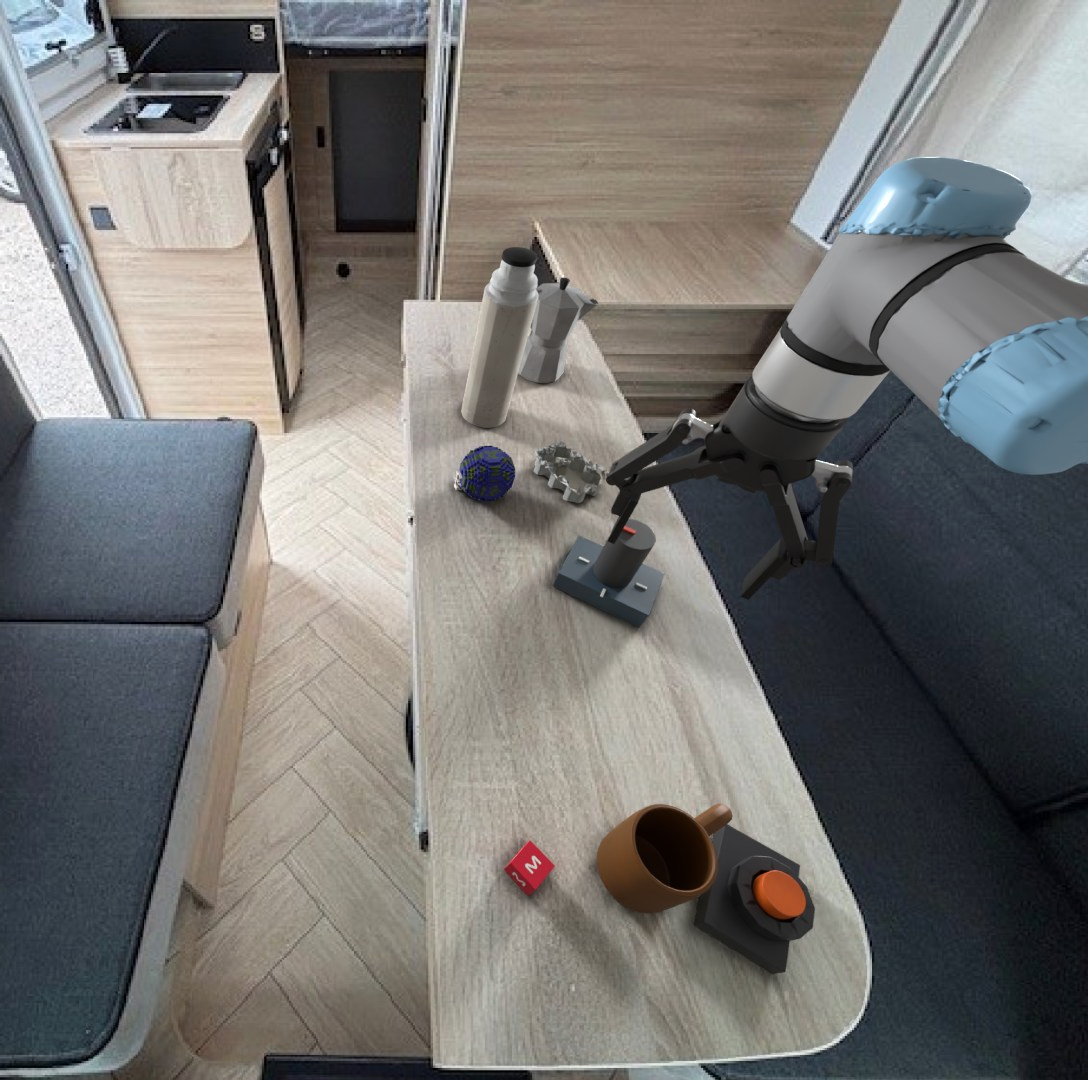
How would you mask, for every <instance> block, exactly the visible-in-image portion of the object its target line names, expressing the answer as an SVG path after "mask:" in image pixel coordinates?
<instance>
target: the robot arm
mask: <svg viewBox="0 0 1088 1080" xmlns="http://www.w3.org/2000/svg"><path fill="white" fill-rule="evenodd" d="M1032 198H1033V196H1032V193H1031V190H1030V188H1029V187H1027V186H1025V184H1024V181H1022V180H1021V178H1019V177H1016V176H1014V175H1013V174H1011V173H1008V172H1006V171H1004V170H1002V169H998V168H995V167H992V166H990V165H986V164H982V163H978V162H974V161H969V160H965V159H960V158H953V157H943V156H916V157H911V158H907V159H903V160H901V161H898V162H896V163H894V164H893V165H891V166H890V167H888V168H886V169H885V170H884V171H883V172H882V173H881V175H879V176H878V177H877V179H876V181H875V182H874V183H873V185H872V186H871V187H870V189H869V190H868V192H867V193H866V194H865V196H864V197H863V198H862V199H861V201H860V203H858V205H857V206H856V208H855V209H854V211H853V212H852V213H851V215H850V216H849V218H848V219H847V220H846V222H845V223H844V224H842V225H841V226H840V227H839V229H838V234H837V236H836V238H835V240H834V242H833V243H832V245H831V246H830V248H829V250H827V253H826V255H825V256H824V258H823V259H822V261H821V263H820V264H819V265H818V267H817V269H816V271H815V272H814V274H813V275H812V277H811V279H809V282H808V283H807V285H806V287H805V288H804V290H803V291H802V292H801V295H800V296H799V298H798V299H797V301H796V302H795V304H794V306H793V307H792V310H791V311H790V312H789V314H788V315H787V317H786V319H785V320H784V321H783V323H782V325H781V327H780V329H779V330H778V331H777V332H776V335H775V336H774V338H773V339H772V341H771V343H770V344H769V345H768V347H767V349H766V350H765V351H764V353H763V354H762V356H761V358H760V359H759V361H758V363H757V364H756V365H755V367H754V369H753V371H752V376H750V377H749V378H747V380H746V381H745V382H744V384H743V385H742V387H741V388H740V390H739V392H738V393H737V395H736V397H735V399H734V400H733V401H732V403H731V404H730V406H729V408H728V409H727V411H726V413H725V414H724V416H723V417H722V418H721V419H720V420H719V421H717V422H715V423H713V424H710V423H708V422H706V421H704V420H702V419H699V418H697V412H696V411H695V410H694V409H693V408H684V409H683V410H682V411H681V412H680V413H679V415H678V416H677V417H676V419H674V421H673V422H672V424H671V425H670V426H668V427H666V428H665V429H663V430H662V431H660V432H659V433H657V434H656V435H654V436H652V437H651V438H649V439H648V440H646V441H645V442H643V443H642V444H640V445H638V446H637V447H636V448H634V449H632V450H631V451H629V452H628V453H626V454H624V455H623V456H622V457H620V458H618V459H617V460H616V461H614V462H613V463H612V464H611V466H610V469H609V470H608V472H609V473H608V475H607V477H606V480H605V483H606V484H608V485H609V486H616V487H617V488H618V490H619V491H618V493H617V495H616V497H615V499H614V502H613V504H612V506H611V509H610V513H611V514H612V515H615V516H617V518H616V521H615V522H614V525H613V527H612V529H611V531H610V534H609V536H608V538H609V539H608V538H607V539H608V542H610V543H612V544H615V542H616V540H617V539H618V537H619V535H620V533H621V532H622V530H623V528H624V526H625V525H626V523H627V521H628V519H631V516H632V514H633V513H634V511H635V510H636V508H637V505H638V504H639V501H640V500H641V497H642V494H644V493H648V492H652V491H655V490H659V489H662V488H666V487H668V486H671V485H675V484H679V483H682V482H685V481H689V480H692V479H695V480H697V481H698V480H702V479H705V478H709V477H712V476H715V477H717V481H718V482H721V483H724V484H728V485H733V486H737V487H739V488H741V489H742V490H744V491H746V492H749V493H752V494H755V493H756V492H761V493H762V492H765V495H766V498H767V500H768V504H769V506H770V507H771V508H772V510H773V513H774V517H775V519H776V522H777V525H778V528H779V531H780V534H781V537H780V538H779V539H778V540H777V542H775V544H774V545H773V546H772V547H771V548H770V549H769V550H768V551H767V553H766V554H765V555H764V556H763V557H762V558H761V559H760V560H759V562H757V563H756V565H755V566H754V567H753V568H752V569H751V570H750V571H749V573H748V574H747V575H746V576H744V578H743V583H742V588H741V593H740V598H742V599H745V600H748V601H749V600H750V599H751V598H752V597H753V596H754V595H755V594H756V593H757V592H758V591H759V590H760V589H761V588H762V587H763V586H764V585H765V584H766V583H767V581H769V579H770V578H773V579H775V580H778V581H780V580H782V579H784V578H785V577H786V576H788V575H789V573H790V572H792V571H793V569H802V568H803V567H805V565H806V561H810V562H815V564H816V565H818V566H820V567H828V566H831V565H832V564H833V560H834V559H833V558H834V551H835V544H836V534H837V526H838V519H839V509H840V501H841V500H842V499H843V497H844V496H845V495H846V493H847V492H848V490H849V489H850V488H851V486H852V484H853V472H854V471H853V469H854V465H853V463H852V462H851V461H849V460H847V459H844V460H843V459H842V460H838V461H836V462H835V463H834V464H833V463H829V462H827V461H826V462H825V461H822V460H817V459H818V457H820V456H821V454H822V453H823V452H824V451H825V450H826V448H827V447H828V446H829V445H830V444H831V442H832V441H833V440H834V439H835V438H836V436H837V435H838V434H839V433H840V432H841V431H842V430H843V428H844V427H845V426H846V425H847V423H848V422H849V418H850V417H852V416H853V415H854V414H856V413H857V412H858V411H859V410H860V408H861V407H862V406H863V405H864V404H865V403H866V402H867V400H868V399H869V397H870V396H871V395H872V394H873V393H874V391H876V389H877V388H878V387H879V385H880V384H881V383H882V381H884V380H885V378H886V377H887V376H888V374H889V373H890V372H891V373H893V374H894V375H895V377H897V378H898V379H899V380H900V381H901V382H902V383H903V384H904V385H905V386H906V387H907V388H908V389H909V390H910V391H911V392H912V393H913V394H914V395H915V396H916V397H917V398H918V399H919V400H920V401H921V402H922V403H923V404H924V405H925V406H926V407H927V408H928V409H929V410H930V411H932V413H934V415H935V416H937V418H938V419H940V421H942V422H943V425H944V427H945V428H946V429H947V430H949V431H950V433H952V435H954V436H955V437H958V438H959V437H960V439H961V440H962V441H964V442H965V443H966V444H969V445H971V446H972V447H973V448H975V449H976V450H977V451H979V452H980V453H982V454H983V455H984V456H985V457H987V458H988V459H989V460H990V461H991V462H992V463H994V464H995V465H996V466H998V467H1000V468H1001V469H1004V470H1006V471H1009V472H1012V473H1016V474H1021V475H1031V476H1035V475H1049V474H1058V473H1061V472H1064V471H1066V470H1069V469H1071V468H1072V467H1075V466H1076V465H1079V464H1082V465H1088V284H1087V283H1081V282H1077V281H1073V280H1070V279H1068V278H1066V277H1064V276H1062V275H1061V274H1058V273H1057V272H1055V271H1052V270H1051V269H1049V268H1047V267H1045V266H1044V265H1041V264H1040V263H1038V262H1036V261H1034V260H1032V259H1031V258H1029V257H1028V256H1026V255H1025V253H1023V252H1021V251H1020V250H1018V248H1016V247H1014V245H1012V244H1010V243H1009V242H1007V241H1006V237H1007V236H1010V235H1011V234H1012V233H1013V232H1014V231H1016V230H1017V227H1016V225H1017V223H1018V222H1019V221H1020V219H1021V218H1022V216H1023V215H1024V214H1025V212H1026V211H1027V210H1028V209H1029V207H1030V206H1031V202H1032ZM698 439H701V440H704V442H703V443H704V445H703V446H700V447H698V448H696V449H695V450H694V451H693V452H690V453H688V454H687V453H686V454H684V455H681V456H678V457H675V458H672V459H669V460H665V461H663V462H660V463H656V464H654V465H651V464H653V463H655V462H656V461H658V460H660V459H661V458H664V457H665V456H667V455H668V454H670V453H672V452H673V451H674V450H676V449H677V448H678V447H680V445H681V444H683V445H687V444H688V445H689V443H691V442H693V441H694V440H698ZM650 465H651V466H650ZM810 477H812V478H814V480H815V484H814V485H815V488H817V489H818V490H819V492H820V493H821V498H820V499H821V500H820V509H819V519H818V529H817V539H816V540H812V539H809V538H808V535H807V532H806V529H805V525H804V523H803V519H802V517H801V513H800V510H799V506H798V503H797V500H796V497H795V494H794V490H793V487H792V484H794V483H796V482H800V481H803V480H806V479H808V478H810Z"/></svg>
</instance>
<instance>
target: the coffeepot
mask: <svg viewBox="0 0 1088 1080" xmlns="http://www.w3.org/2000/svg"><path fill="white" fill-rule="evenodd" d="M570 282H571V279H570V278H569V277H565V276H564V277H560V279H559V282H551V283H550V282H549V283H548V282H546V283H541V284H540V285H539V286H537V288H536V291H537V292H538V301H537V304H536V308H535V312H534V316H533V319H532V323H531V327H530V332H529V334H528V338H527V342H526V346H525V349H524V353H523V356H522V360H521V363H520V367H519V371H518V375H519V376H521V377H522V378H523V379H525V380H527V381H529V382H532V383H536V384H551V383H555V382H557V381H558V380H559V379H560V378H561V377H562V375H563V374H564V373H565V365H566V356H567V349H568V342H567V341H568V338H569V337H570V336H571V335H572V334H573V332H574V329H575V328H576V325H577V323H578V322H579V321H580V320H581V319H582V318H583V317H584V316H586V315H587V314H588V313H589V312H590V311H592V310H593V309H594V308H596V307H599V302H598V300H597V299H594V297H591V296H589V295H586V294H585V293H584V291H582V289H580V288H578V287H575V286H572V285H569V284H570Z"/></svg>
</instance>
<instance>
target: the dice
mask: <svg viewBox="0 0 1088 1080" xmlns="http://www.w3.org/2000/svg"><path fill="white" fill-rule="evenodd" d="M555 867H556V865H555V864H554V863H553V862H552V861H551V860H550V859H549V857H547V856H546V855H545V853H543V852H542V850H541V849H540V848H539V847H538V846H537V845H535V843H534V842H533V841H532V840H531V839H530V840H528V841H527V843H525V844H524V845H523V846H522V848H521V849H520V850H519V851H518V852H517V853H516V854H515V856H514V857H513V858H512V860H510V861H509V863H508V864H507V865H506V866H505V867H504V869H503V871H505V872H506V874H507V875H508V876H509V877H510V878H511V880H513V882H515V884H517V886H518V887H519V888H520V889H521V890H522V891H523V892H524V893H525V894H526V896H530V895H531V894H532V893H534V892H535V891H536V890H537V889H538V888H539V886H540V885H541V884H542V883H543V882H544V881H545V880H546V879H547V877H548V875H549V874H550V873H551V872H552V871H553V869H554V868H555Z"/></svg>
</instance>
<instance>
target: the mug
mask: <svg viewBox="0 0 1088 1080" xmlns="http://www.w3.org/2000/svg"><path fill="white" fill-rule="evenodd" d="M733 817H734V814H733V811H732V809H731V808H730V807H729V806H727V805H726V804H723V803H717V804H714V805H713V806H711V807H709V808H708V809H705V811H703V812H701V813H699V814H698V815H696V816H695V817H693V816H692V815H691V814H689V813H688V812H686V811H685V810H683V809H681V808H679V807H677V806H673V805H670V804H665V803H655V804H650V805H647V806H645V807H643V808H641V809H639V810H637V811H635V812H633V813H632V814H631V815H629V816H628V817H626V818H625V819H624V820H623V821H621V823H618V825H616V826H615V827H614V828H613V829H612V830H610V831H609V832H608V833H606V835H605V836H604V837H603V838H602V839H601V842H600V844H599V846H598V850H597V854H596V864H597V869H598V875H599V876H600V880H601V881H602V883H603V885H604V887H605V889H606V891H608V893H609V895H611V897H612V898H613V899H614V900H615V901H616V902H617V903H618V904H620V905H621V906H623V907H624V908H626V909H628V910H630V911H632V912H635V913H638V914H639V913H640V914H644V915H645V914H646V915H648V914H649V915H650V914H656V913H657V914H658V913H660V912H663V911H666V910H669V909H671V908H676V907H678V906H680V905H683V904H686V903H688V902H691V901H693V900H696V899H697V898H699V897H700V895H701V894H703V893H705V892H706V891H707V890H708V889H709V888H710V887H711V886H712V885H713V883H714V881H715V879H716V876H717V870H718V860H717V854H716V850H715V847H714V845H713V843H712V840H713V839H711V836H712V835H714V833H715V832H716V831H718V830H719V829H721V828H722V827H724V826H725V825H726V824H728V825H729V823H731V821H732V820H733Z"/></svg>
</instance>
